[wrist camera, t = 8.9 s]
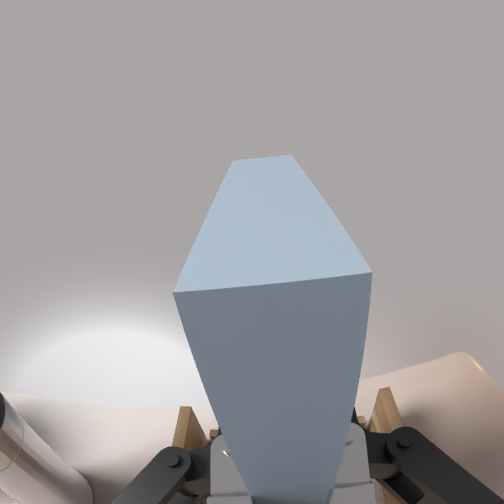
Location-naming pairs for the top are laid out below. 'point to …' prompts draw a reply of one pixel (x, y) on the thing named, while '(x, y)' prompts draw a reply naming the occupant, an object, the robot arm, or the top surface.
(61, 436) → the top surface
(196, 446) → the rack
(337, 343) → the panel
